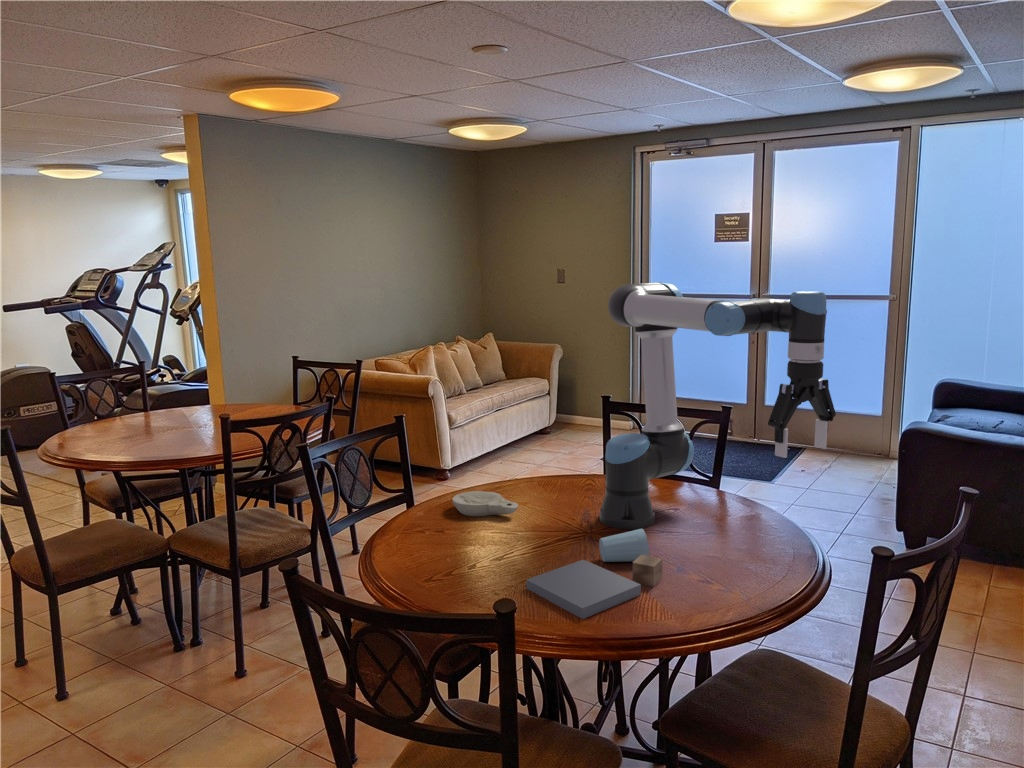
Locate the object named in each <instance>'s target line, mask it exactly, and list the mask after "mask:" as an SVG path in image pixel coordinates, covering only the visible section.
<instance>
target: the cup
mask: <svg viewBox="0 0 1024 768" xmlns="http://www.w3.org/2000/svg"><path fill="white" fill-rule="evenodd" d="M598 544H599V545H598V546H599V554H600V557H601V561H602V562H604V563H610V562H612V563H615V562H616V563H617V562H619V563H620V562H622V563H623V562H634V561H635V560H636V559H637V558H638V557H639V556H640V555H646V556H650V547H649V541H648V538H647V533H646V532H645V529H644V528H640V529H632V530H630V531H625V532H622V533H617V534H613V535H612V534H611V535H608V536H604V537H600V538H599V542H598Z"/></svg>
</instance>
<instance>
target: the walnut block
mask: <svg viewBox="0 0 1024 768" xmlns="http://www.w3.org/2000/svg"><path fill="white" fill-rule="evenodd" d="M662 579H663V558H660V557H655V556H650V555H649V556H646V555H640V556H639V557H638V558H637V559H636V560H635V561H632V581H634V582H636V583H638V584H641V585H644V586H649V587H652V588H655V586H656V585H658V583H659V582H660V581H661V580H662Z"/></svg>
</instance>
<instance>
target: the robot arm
mask: <svg viewBox="0 0 1024 768" xmlns="http://www.w3.org/2000/svg"><path fill="white" fill-rule="evenodd" d="M607 310H608V314H609V316H610V317H611V319H612V320H613V321H614V322H615V323H616V324H618V325H620V326H621V327H622V326H623V327H627V328H628V327H629V328H630V327H631V328H633V327H634V332H635V333H634V334H635V335H637V336H638V337H639V338H640V339H641V340H640V341H641V354H642V355H641V357H642V372H643V385H644V403H645V416H646V417H645V419H646V423H645V424H644V426H643V427H642V428H641V433H638V432H634V433H633V432H632V433H623V434H622V433H621V434H618V435H615V436H613V437H611V438H610V439H609V440H608V441H607V442H606V445H605V454H604V459H605V494H604V497H603V500H602V504H601V508H600V509H599V521H600V523H601V524H603V525H604V526H608V527H610V528H612V529H613V528H614V529H618V530H619V529H621V530H638V529H644V528H649V527H650V526H652V525H653V524H654V523H655V522H656V513H655V509H654V508H653V505H652V501H651V497H650V493H649V491H650V489H649V486H650V484H649V481H650V480H652V479H658V478H662V477H666V476H673V475H676V474H678V473H681V472H683V471H685V470H686V469H688V467H689V466H690V465H691V464H692V461H693V459H694V455H695V454H694V453H695V452H694V451H695V450H694V449H695V448H694V444H693V441H692V440H691V439H690V435H688V433H686V432H685V431H684V429H685V428H684V426H683V425H682V423H680V422H679V421H678V407H677V390H676V388H677V387H676V375H675V374H676V373H675V360H674V359H675V357H674V343H673V342H674V339H673V336H674V334H675V333H676V332H677V331H678V329H686V330H692V331H703V332H708V333H709V332H710V333H711V334H713V335H715V336H717V337H719V336H720V337H730V336H735V335H742V334H753V333H754V334H755V333H765V332H776V333H777V332H778V333H787V334H788V344H787V346H788V347H787V358H788V359H789V360H788V362H787V367H786V368H787V370H786V371H787V372H786V375H787V377H788V378H789V380H790V382H789V384H787V383H780V384H779V388H778V395H777V398H776V400H775V403H774V405H773V407H772V410H771V414H770V416H769V419H768V420H767V421H768V422H767V425H768V426H770V427H772V428H773V429H774V443H775V444H774V445H775V447H774V448H775V449H774V456H776V457H779V458H784V459H786V458H788V445H789V444H788V443H789V441H788V439H789V428H786V427H787V426H788V424H789V423H790V421H791V419H792V417H793V416H794V414H795V412H796V410H797V409H798V408H799V407H798V406H801V405H802V403H806V402H809V403H810V406H811V407H812V409H813V410H814V413H815V414H816V416H817V418H818V419H817V418H816V419H815V424H814V425H815V428H814V446H813V447H815V448H817V449H818V448H819V449H823V450H827V445H828V444H827V442H828V441H827V440H828V433H829V422H833V420H834V418H835V416H836V409H835V407H834V402H833V399H832V395H831V392H830V389H829V379H827V378H823V376H824V362H823V361H822V360H823V359H824V358H825V357H824V355H825V354H824V353H825V332H826V321H827V313H828V311H827V295H826V294H825V292H824V291H817V290H816V291H815V290H814V291H813V290H812V291H809V290H801V291H792V292H791V294H790V298H789V299H781V298H780V299H779V298H767V297H757V298H750V299H748V300H725V299H724V300H723V299H720V300H719V299H707V298H699V297H698V298H697V297H696V298H695V297H694V298H693V297H684V296H683V294H682V292H681V290H679V289H678V287H677V286H675V285H674V284H671V283H670V282H669V283H668V282H661V281H659V282H658V281H657V282H645V283H628V284H623V285H621V286H619V287H617V288H616V289H615V290H614V291H613V292H612V293H611V295H610V297H609V299H608V301H607Z"/></svg>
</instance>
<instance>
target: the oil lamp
mask: <svg viewBox="0 0 1024 768" xmlns="http://www.w3.org/2000/svg"><path fill="white" fill-rule="evenodd" d="M451 501H452V503H453V506H454V507H455V508H456V510H457V511H459V513H460V514H462V515H465V516H468V517H487V516H494V515H496V516H497V515H499V516H500V515H511V514H514V513H515V512H516V511H517V510H518V508H519V504H518V503H517V502H514V501H510V500H507V499H506V497H503V496H502V495H501V493H498V492H493V491H484V490H483V491H481V490H472V491H466V492H461V493H457V494H456V495H454V496H453V497H452V500H451Z"/></svg>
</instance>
